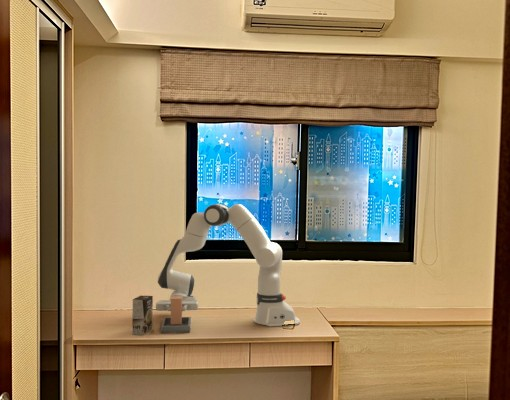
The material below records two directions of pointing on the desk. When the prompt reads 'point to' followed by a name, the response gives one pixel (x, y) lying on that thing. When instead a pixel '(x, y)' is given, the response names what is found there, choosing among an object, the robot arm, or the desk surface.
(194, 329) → the desk surface
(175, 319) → the block
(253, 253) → the robot arm
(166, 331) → the tray
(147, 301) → the coffee box
